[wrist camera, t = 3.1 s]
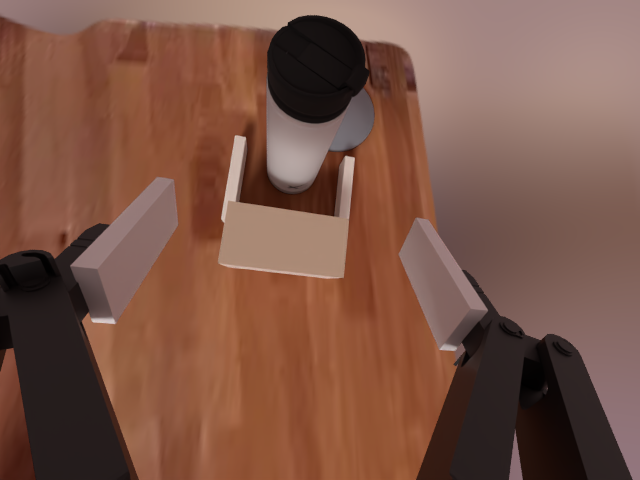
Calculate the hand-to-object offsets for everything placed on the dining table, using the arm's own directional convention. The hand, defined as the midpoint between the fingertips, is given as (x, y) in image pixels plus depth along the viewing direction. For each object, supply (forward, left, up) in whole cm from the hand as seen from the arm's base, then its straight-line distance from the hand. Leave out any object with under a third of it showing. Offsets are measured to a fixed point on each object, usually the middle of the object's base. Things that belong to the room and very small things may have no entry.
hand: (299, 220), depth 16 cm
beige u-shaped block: (-4, +3, -20) cm, 20 cm away
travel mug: (-9, +6, -20) cm, 23 cm away
